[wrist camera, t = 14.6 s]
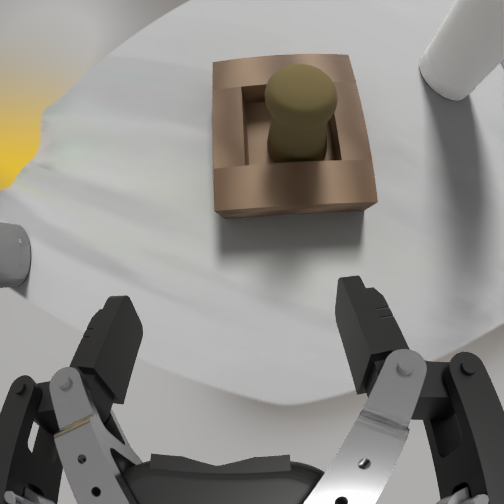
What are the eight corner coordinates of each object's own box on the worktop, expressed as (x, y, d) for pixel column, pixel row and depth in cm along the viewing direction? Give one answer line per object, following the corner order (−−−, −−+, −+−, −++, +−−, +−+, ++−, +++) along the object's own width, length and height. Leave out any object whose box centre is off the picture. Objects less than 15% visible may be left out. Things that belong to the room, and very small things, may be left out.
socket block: (225, 218, 29) (214, 211, 25) (221, 84, 30) (212, 62, 25) (364, 210, 28) (377, 202, 23) (341, 77, 28) (348, 54, 24)
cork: (339, 154, 27) (365, 98, 16) (288, 183, 28) (289, 137, 17) (304, 109, 28) (311, 41, 17) (255, 136, 28) (239, 74, 17)
